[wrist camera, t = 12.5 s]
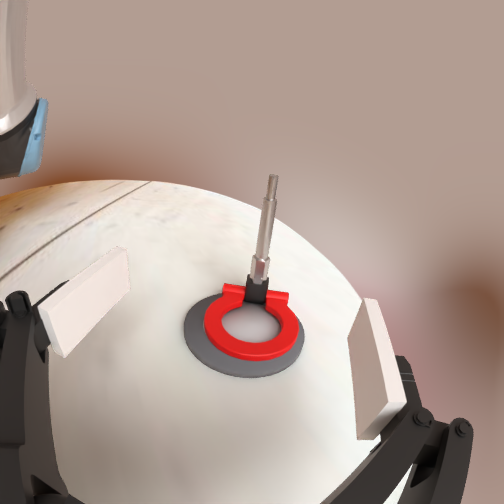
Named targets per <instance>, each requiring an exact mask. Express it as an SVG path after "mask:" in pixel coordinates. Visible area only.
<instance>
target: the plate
mask: <svg viewBox="0 0 504 504" xmlns="http://www.w3.org/2000/svg"><path fill="white" fill-rule="evenodd" d="M221 297H222V294H217V295H213V296H210V297H207V298H205V299H203V300H201V301H199V302H198V303H196V304H195V305H194V306H193V307H192V308H191V309H190V310H189V312H188V314H187V316H186V318H185V323H184V333H185V340H186V343H187V345H188V347H189V349H190V350H191V352H192V353H193V354H194V355H195V357H196V358H197V359H199V360H200V361H201V362H202V363H203V364H205V365H207V366H208V367H210V368H212V369H214V370H216V371H218V372H221V373H224V374H227V375H231V376H235V377H243V378H257V377H265V376H269V375H273V374H276V373H279V372H281V371H283V370H285V369H286V368H288V367H289V366H290V365H291V364H293V363H294V362H295V360H296V359H297V358H298V356H299V354H300V352H301V350H302V347H303V343H304V329H303V326H302V324H301V322H300V321H299V319H298V318H297V316H296V315H295V316H296V318H297V320H298V324H299V332H298V336H297V339H296V342H295V344H294V345H293V346H292V348H291V349H290V350H289V351H288V352H286V353H285V354H283V355H282V356H280V357H277V358H274V359H271V360H265V361H248V360H241V359H238V358H235V357H232V356H229V355H227V354H225V353H224V352H222V351H220V350H219V349H217V348H216V347H215V346H214V345H213V344H212V343H211V342H210V340H209V339H208V337H207V335H206V333H205V328H204V317H205V313H206V310H207V309H208V307H209V306H210V305H211V303H213V302H214V301H216V300H217V299H218V298H221ZM265 306H266V303H265V304H259V303H252V302H246V301H244V300H243V303H242V306H241V307H238V308H234V309H232V310H230V311H228V312H227V313H226V314H225V315H224V316H223V318H222V325H223V327H224V329H225V330H226V331H227V332H228V333H229V334H230V335H231V336H233V337H235V338H237V339H239V340H242V341H245V342H252V343H259V342H266V341H269V340H272V339H273V338H275V337H277V336H278V334H279V333H280V332H281V325H280V322H279V320H278V319H277V318H276V317H275V316H274V315H273V314H271V313H270V312H268V311H266V309H265Z"/></svg>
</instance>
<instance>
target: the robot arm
mask: <svg viewBox="0 0 504 504" xmlns="http://www.w3.org/2000/svg"><path fill="white" fill-rule="evenodd" d="M28 3H29V0H0V179H5V178H11V177H17V176H18V177H20V176H21V175H24V174H28V173H32V172H35V171H36V170H37V169H38V168H39V166H40V164H41V160H42V152H43V145H44V137H45V129H46V121H47V112H48V101H47V100H46V99H42V98H39V99H38V100H37V94H36V89H35V87H34V86H33V85H32V84H31V83H29V82H27V81H26V77H25V76H26V75H25V39H26V38H25V37H26V22H27V11H28ZM129 290H130V279H129V269H128V256H127V249H126V248H122V247H118V246H116V247H115V248H113V249H112V250H110V251H109V252H108V253H106V254H105V255H103V256H102V257H101V258H99V259H98V260H96V261H95V262H94V263H92V264H91V265H90V266H88V267H87V268H85V269H84V270H83V271H81V272H80V273H79V274H77V275H76V276H75V277H74V278H72V279H71V280H68V281H65V282H63V283H61V284H59V285H58V286H57V287H56V288H54V290H52V291H51V292H49V294H47V295H45V296H44V297H43V298H42V299H40V300H39V301H38V302H37V303H36V304H34V305H33V306H31V303H30V300H29V297H28V294H27V293H26V292H25V291H15V292H13V293H11V294H9V295H8V296H7V297H6V299H5V301H6V304H7V307H8V310H9V311H8V310H5V308H4V305H3V303H2V302H1V301H0V504H84V503H83V502H81V501H79V500H78V499H76V498H75V497H73V496H71V495H70V494H68V491H67V488H66V486H65V483H64V482H63V480H62V478H61V477H60V474H59V471H58V467H57V462H56V456H55V450H54V443H53V436H52V428H51V418H50V405H49V378H48V364H49V352H48V348H47V347H48V346H49V345H50V343H51V345H52V348H53V350H54V352H55V353H57V354H58V355H60V356H62V357H64V358H66V356H67V355H68V354H69V353H70V352H71V351H72V350H73V349H74V348H75V347H76V345H77V344H78V343H79V342H80V341H81V340H82V339H83V338H84V337H85V336H86V335H87V334H88V332H89V331H90V330H91V329H92V328H93V327H94V326H95V325H96V324H97V323H98V322H99V321H100V320H101V319H102V318H103V317H104V316H105V315H106V314H107V312H108V311H109V310H110V309H111V308H112V307H113V306H114V305H115V304H116V303H117V302H118V301H119V300H120V299H121V298H122V297H123V296H124V295H125V294H126V293H127V292H128V291H129ZM347 339H348V346H349V354H350V362H351V371H352V381H353V391H354V403H355V416H356V432H357V440H374V439H375V438H376V437H377V436H378V435H379V434H380V436H381V441H380V442H379V443H378V444H377V445H376V446H375V447H374V448H373V449H372V450H371V451H370V452H371V453H370V454H369V455H368V456H367V457H366V459H365V460H364V461H363V462H362V463H361V464H360V465H359V466H358V467H357V468H356V469H355V471H354V472H353V473H352V474H351V475H350V476H349V477H348V478H347V479H346V480H345V481H344V482H343V483H342V484H341V485H340V486H339V487H338V488H337V489H336V490H335V491H334V492H332V493H331V494H330V495H329V496H328V497H327V498H326V499H325V500H324V501H323V502H321V503H320V504H383V503H384V502H385V501H386V499H387V498H388V497H389V496H390V494H391V493H392V492H393V490H394V489H395V488H396V486H397V485H398V484H399V482H400V481H401V479H402V478H403V477H404V475H405V474H406V472H407V471H408V469H409V468H410V466H411V465H412V463H413V466H412V468H411V471H410V474H409V477H408V479H407V482H406V484H405V487H404V489H403V492H402V494H401V497H400V499H399V501H398V503H397V504H460V503H461V499H462V496H463V491H464V487H465V483H466V478H467V473H468V468H469V462H470V457H471V450H472V442H473V428H472V426H471V424H470V423H469V422H468V421H467V420H466V419H464V418H456V419H454V420H453V421H452V422H451V423H450V424H446V423H443V422H439V421H436V420H434V417H433V415H432V414H431V412H430V411H429V410H427V409H425V408H423V407H422V404H421V400H420V397H419V393H418V389H417V386H416V383H415V382H414V381H415V379H414V376H413V375H412V374H413V373H412V369H411V366H410V364H409V363H408V361H407V360H406V359H405V357H404V356H395V355H394V351H393V348H392V345H391V341H390V338H389V335H388V332H387V329H386V325H385V322H384V319H383V317H382V314H381V311H380V308H379V305H378V302H377V300H374V299H369V298H363V301H362V303H361V306H360V308H359V311H358V313H357V316H356V318H355V321H354V323H353V326H352V328H351V331H350V333H349V335H348V338H347ZM33 495H34V496H33Z"/></svg>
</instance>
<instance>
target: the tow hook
mask: <svg viewBox="0 0 504 504" xmlns="http://www.w3.org/2000/svg"><path fill="white" fill-rule="evenodd" d="M277 182H278V176H277V175H273V174H270V175H269V180H268V187H267V194H266V197H264V198H263V205H262V212H261V219H260V226H259V233H258V240H257V247H256V254H255V255H253V257H252V264H251V271H250V272H251V273H250V274H248V276H247V281H246V287H245V286H239V285H232V284H226V283H224V286H223V289H222V297H221V298H218V299H217V300H216V301H214V302H213V303H211V305H210V306H209V307H208V309H207V310H206V313H205V317H204V328H205V333H206V335H207V337H208V339H209V340H210V342H211V343H212V344H213V345H214V346H215V347H216V348H217V349H219V350H220V351H222V352H224V353H225V354H227V355H229V356H232V357H235V358H238V359H241V360H248V361H265V360H271V359H274V358H277V357H280V356H282V355H283V354H285V353H286V352H288V351H289V350H290V349H291V348H292V346H293V345H294V344H295V342H296V339H297V336H298V332H299V324H298V320H297V318H296V316H295V314H294V313H293V312H292V311H291V309H290V308H289V307H288V306H287V304H288V298H289V293H287V292H280V291H273V290H268V282H269V277H267V274H268V269H269V263H270V258H269V257H268V254H269V248H270V242H271V236H272V229H273V223H274V217H275V210H276V204H277V200H276V199H275V195H276V189H277ZM243 300H244V301H246V302H252V303H259V304H265V303H266V306H265V309H266V311H268V312H270V313H271V314H273V315H274V316H275V317H276V318H277V319H278V320H279V322H280V325H281V332H280V333H279V334H278V336H277V337H275V338H273V339H272V340H269V341H266V342H259V343H252V342H245V341H242V340H239V339H237V338H235V337H233V336H231V335H230V334H229V333H228V332H227V331H226V330H225V329H224V327H223V325H222V318H223V316H224V315H225V314H226V313H227V312H228V311H230V310H232V309H234V308H238V307H241V306H242V303H243Z"/></svg>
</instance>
